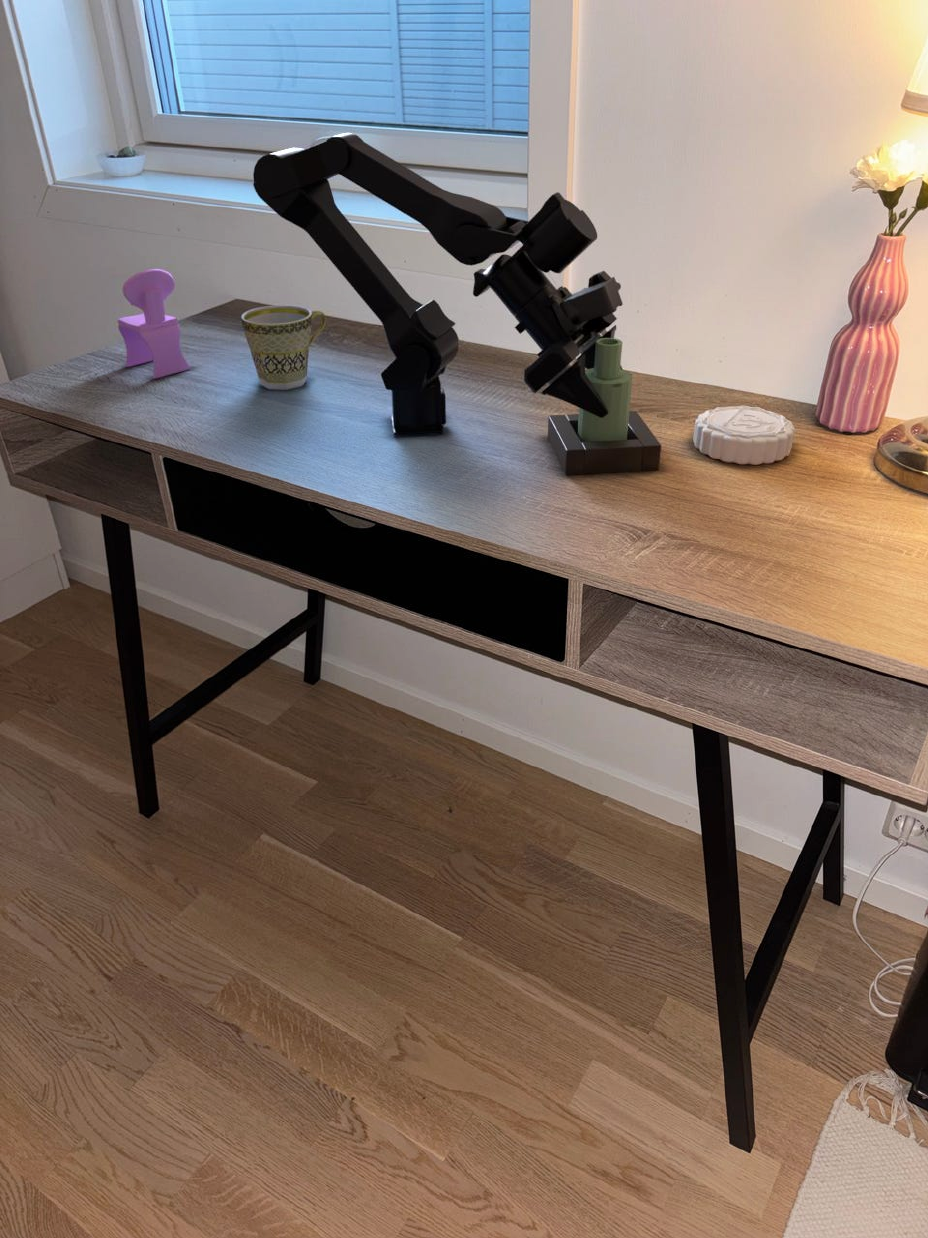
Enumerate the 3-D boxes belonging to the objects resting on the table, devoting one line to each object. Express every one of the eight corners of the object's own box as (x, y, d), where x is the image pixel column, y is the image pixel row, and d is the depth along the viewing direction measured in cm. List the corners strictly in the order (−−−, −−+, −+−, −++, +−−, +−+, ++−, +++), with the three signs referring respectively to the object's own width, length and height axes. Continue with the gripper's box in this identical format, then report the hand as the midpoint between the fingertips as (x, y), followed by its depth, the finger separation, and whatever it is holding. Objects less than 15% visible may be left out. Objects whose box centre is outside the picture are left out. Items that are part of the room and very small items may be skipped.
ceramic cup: (270, 399, 138) (262, 328, 133) (237, 381, 145) (228, 313, 140) (347, 379, 145) (342, 311, 140) (312, 363, 152) (306, 297, 146)
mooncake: (774, 473, 116) (779, 444, 114) (678, 452, 121) (681, 425, 119) (802, 440, 124) (807, 413, 122) (712, 422, 130) (715, 396, 128)
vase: (587, 466, 118) (595, 351, 110) (569, 447, 123) (575, 336, 115) (633, 460, 119) (643, 346, 112) (613, 442, 124) (622, 332, 117)
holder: (565, 475, 116) (566, 450, 114) (547, 438, 125) (548, 415, 123) (658, 470, 117) (661, 445, 115) (634, 434, 126) (636, 410, 125)
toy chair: (166, 355, 156) (148, 257, 148) (196, 367, 150) (180, 266, 142) (118, 367, 151) (98, 266, 143) (148, 380, 146) (129, 276, 137)
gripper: (554, 271, 102) (648, 386, 105) (605, 236, 117) (686, 338, 119) (485, 337, 109) (574, 444, 112) (541, 297, 124) (618, 392, 126)
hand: (616, 402), depth 117 cm, fingers open, 9 cm apart
